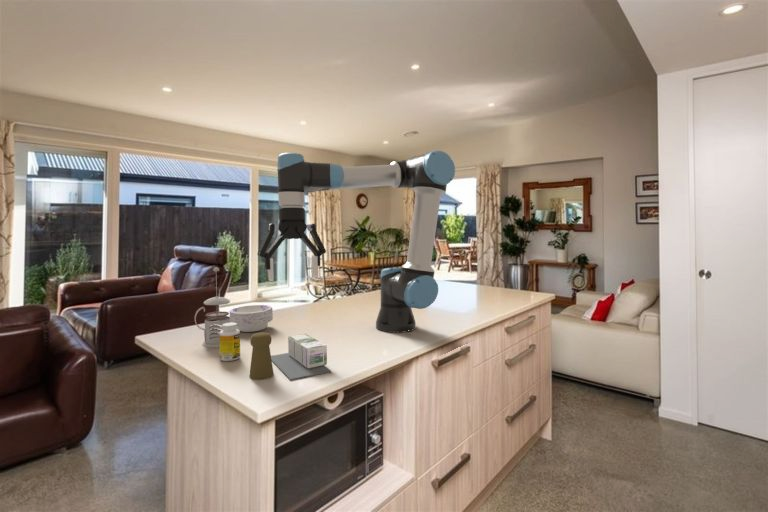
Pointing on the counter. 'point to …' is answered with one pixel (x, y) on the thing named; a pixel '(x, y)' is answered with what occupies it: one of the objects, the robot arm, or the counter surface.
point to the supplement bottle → (229, 342)
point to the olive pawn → (261, 356)
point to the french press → (210, 335)
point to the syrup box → (307, 350)
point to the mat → (296, 367)
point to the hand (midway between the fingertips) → (293, 278)
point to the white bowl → (251, 317)
